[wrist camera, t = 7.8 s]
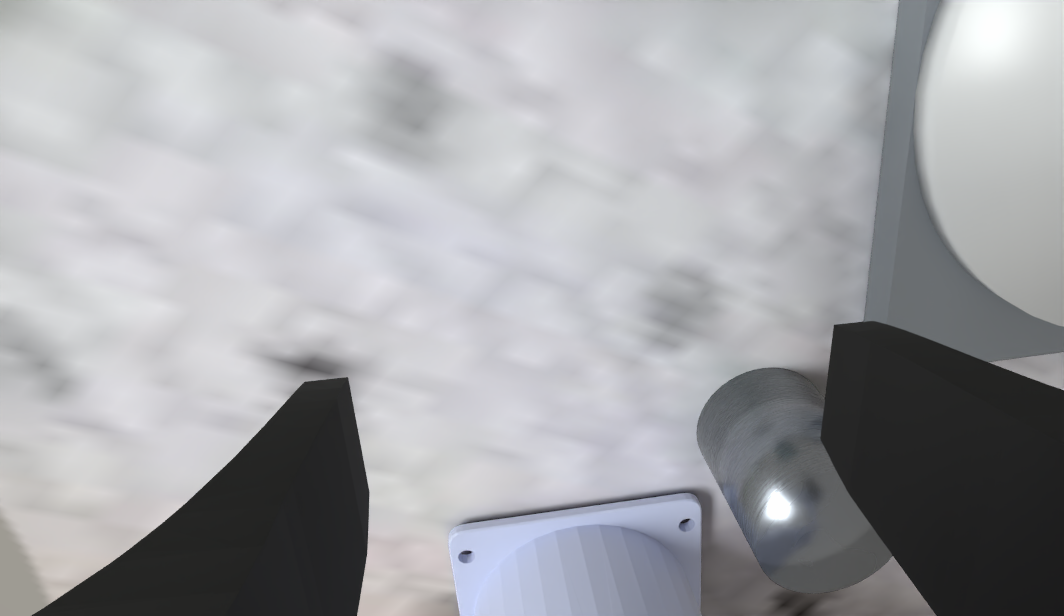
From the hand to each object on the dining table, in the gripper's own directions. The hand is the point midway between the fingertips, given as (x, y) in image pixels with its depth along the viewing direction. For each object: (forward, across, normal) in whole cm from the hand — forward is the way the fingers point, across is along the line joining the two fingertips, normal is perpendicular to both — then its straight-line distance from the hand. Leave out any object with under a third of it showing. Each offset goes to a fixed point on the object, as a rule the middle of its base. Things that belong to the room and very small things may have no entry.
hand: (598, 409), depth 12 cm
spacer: (+10, -7, +8) cm, 14 cm away
